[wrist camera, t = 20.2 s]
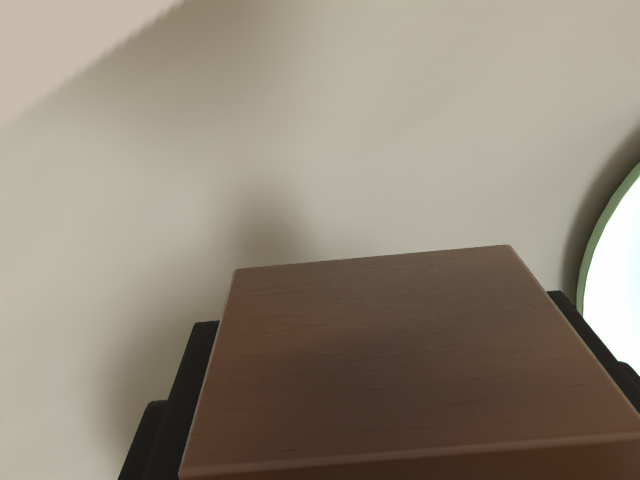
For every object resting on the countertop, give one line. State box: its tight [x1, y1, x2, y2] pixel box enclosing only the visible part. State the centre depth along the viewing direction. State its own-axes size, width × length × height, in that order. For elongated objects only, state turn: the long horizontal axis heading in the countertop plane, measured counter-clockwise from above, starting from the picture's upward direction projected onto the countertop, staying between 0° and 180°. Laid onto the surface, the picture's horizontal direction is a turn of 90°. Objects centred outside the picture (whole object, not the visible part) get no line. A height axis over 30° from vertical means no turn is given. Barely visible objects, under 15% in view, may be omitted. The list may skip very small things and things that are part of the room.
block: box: [178, 245, 640, 480], centre depth 9 cm, size 5×5×5 cm
